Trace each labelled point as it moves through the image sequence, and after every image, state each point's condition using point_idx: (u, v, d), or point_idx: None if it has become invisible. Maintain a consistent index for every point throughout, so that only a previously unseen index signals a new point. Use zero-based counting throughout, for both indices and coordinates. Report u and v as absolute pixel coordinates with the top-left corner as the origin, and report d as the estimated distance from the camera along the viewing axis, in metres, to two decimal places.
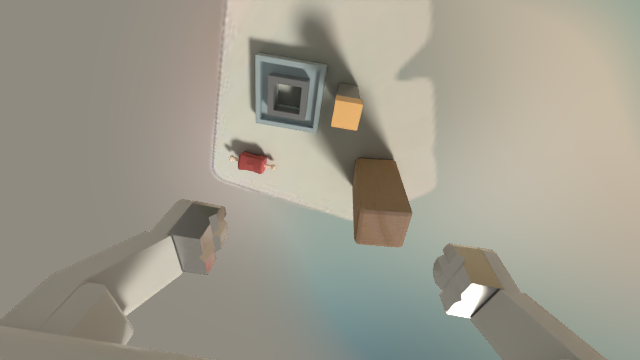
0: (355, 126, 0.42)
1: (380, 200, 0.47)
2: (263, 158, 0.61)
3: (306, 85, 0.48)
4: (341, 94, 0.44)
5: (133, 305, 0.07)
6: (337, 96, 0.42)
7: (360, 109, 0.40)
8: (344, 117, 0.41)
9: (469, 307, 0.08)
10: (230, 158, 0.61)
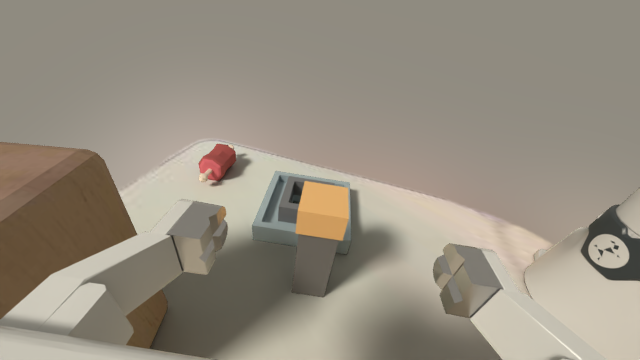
0: (306, 209, 0.22)
1: (76, 226, 0.14)
2: (222, 170, 0.44)
3: None
4: None
5: (133, 305, 0.07)
6: None
7: (339, 214, 0.22)
8: (321, 195, 0.24)
9: (469, 307, 0.08)
10: (231, 146, 0.51)
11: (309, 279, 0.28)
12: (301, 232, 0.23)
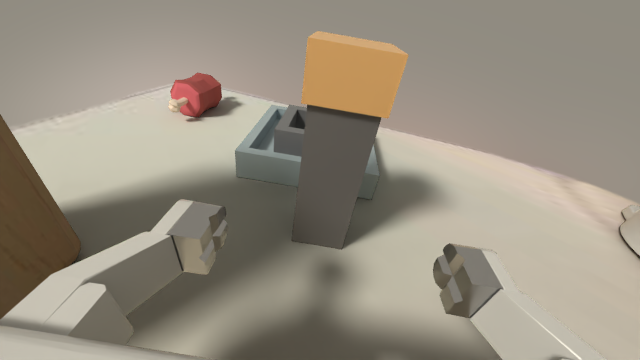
0: (324, 39, 0.11)
1: None
2: (201, 100, 0.33)
3: None
4: None
5: (133, 305, 0.07)
6: None
7: (389, 50, 0.11)
8: (349, 39, 0.13)
9: (469, 307, 0.08)
10: None
11: (320, 213, 0.17)
12: (312, 99, 0.12)
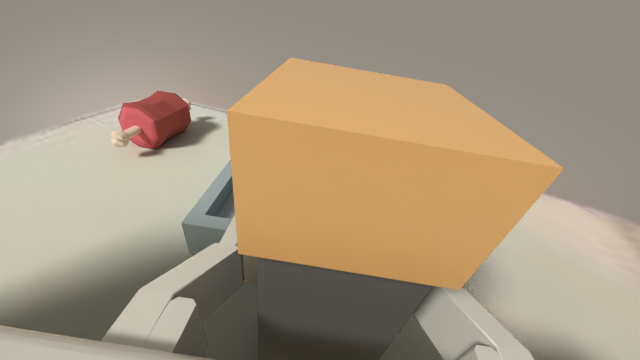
0: (286, 111, 0.04)
1: None
2: (158, 129, 0.26)
3: None
4: None
5: (203, 316, 0.07)
6: None
7: (494, 147, 0.03)
8: (359, 86, 0.05)
9: None
10: (186, 100, 0.32)
11: None
12: (266, 249, 0.05)
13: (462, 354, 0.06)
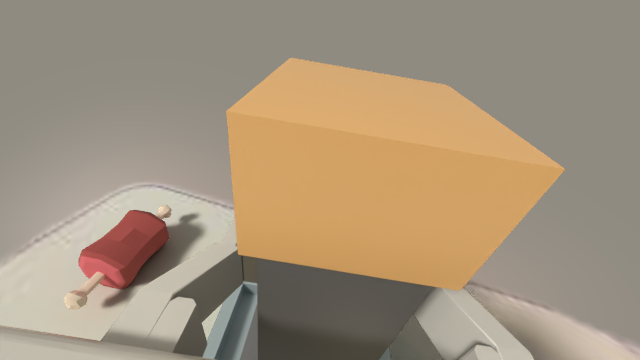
0: (286, 112, 0.04)
1: None
2: (125, 274, 0.22)
3: None
4: None
5: (203, 316, 0.07)
6: None
7: (495, 148, 0.03)
8: (358, 86, 0.05)
9: None
10: (166, 207, 0.28)
11: None
12: (266, 250, 0.05)
13: (462, 354, 0.06)
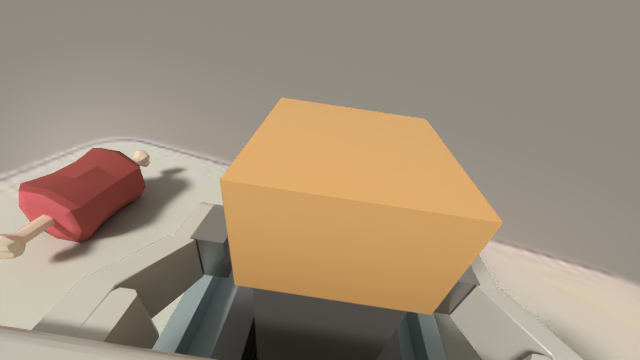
0: (270, 174, 0.04)
1: None
2: (81, 219, 0.17)
3: None
4: None
5: (157, 309, 0.07)
6: None
7: (447, 203, 0.04)
8: (340, 131, 0.06)
9: (448, 304, 0.08)
10: (142, 152, 0.23)
11: None
12: (258, 282, 0.05)
13: None
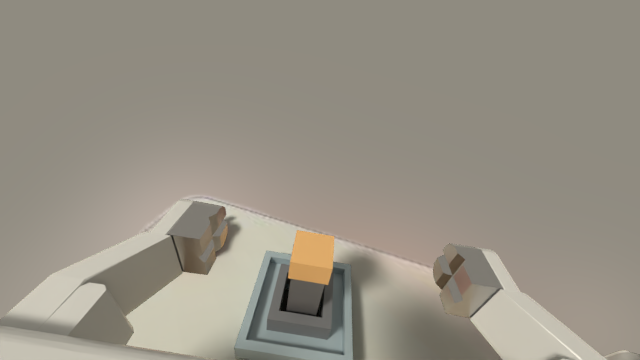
0: (297, 260, 0.26)
1: None
2: None
3: (326, 325, 0.30)
4: None
5: (133, 305, 0.07)
6: None
7: (325, 265, 0.26)
8: (310, 245, 0.28)
9: (469, 307, 0.08)
10: None
11: (300, 312, 0.32)
12: (293, 277, 0.27)
13: None
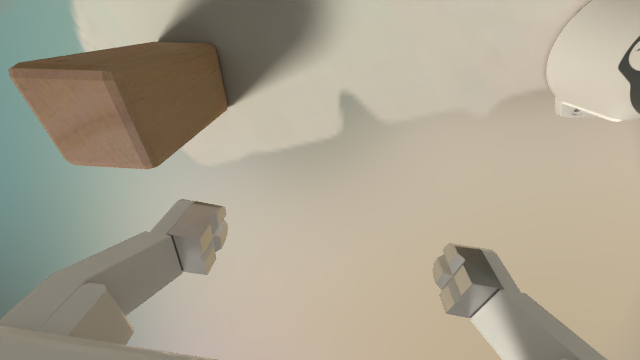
0: None
1: (153, 108, 0.24)
2: None
3: None
4: None
5: (133, 305, 0.07)
6: None
7: None
8: None
9: (469, 307, 0.08)
10: None
11: None
12: None
13: None
